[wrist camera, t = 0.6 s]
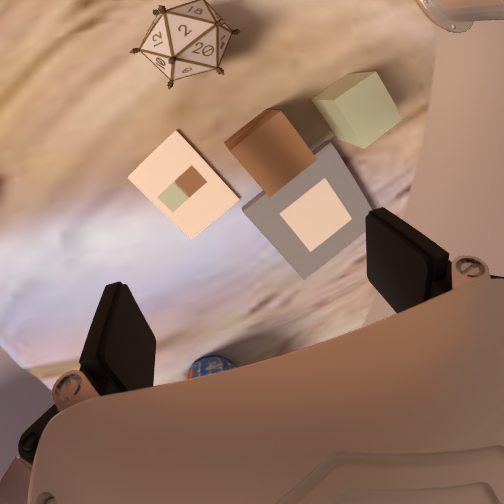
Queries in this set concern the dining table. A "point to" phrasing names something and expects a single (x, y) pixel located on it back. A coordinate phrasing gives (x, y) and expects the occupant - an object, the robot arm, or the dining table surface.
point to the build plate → (312, 213)
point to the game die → (186, 40)
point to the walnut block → (271, 150)
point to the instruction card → (183, 186)
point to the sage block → (358, 108)
